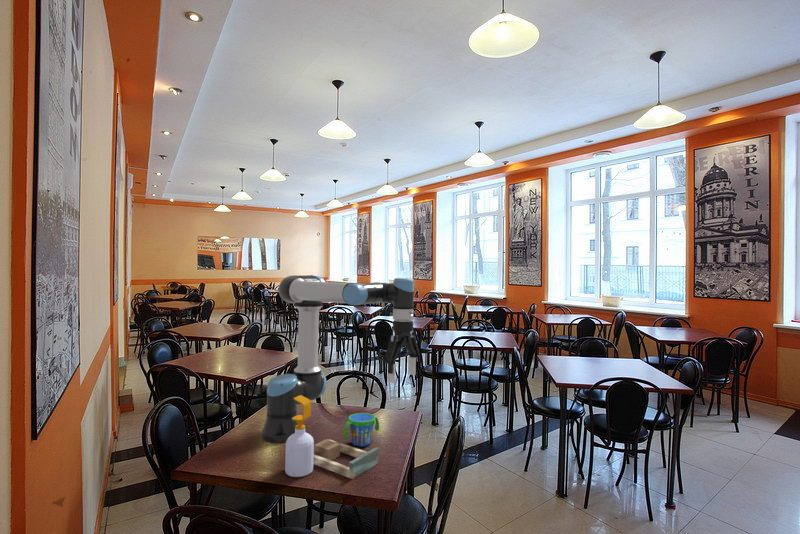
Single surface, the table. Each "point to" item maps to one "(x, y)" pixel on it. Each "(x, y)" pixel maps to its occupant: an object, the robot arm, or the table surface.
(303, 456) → the soap bottle
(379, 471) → the table surface
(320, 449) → the block
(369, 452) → the lane
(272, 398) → the robot arm
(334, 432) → the table surface
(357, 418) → the snack cup
